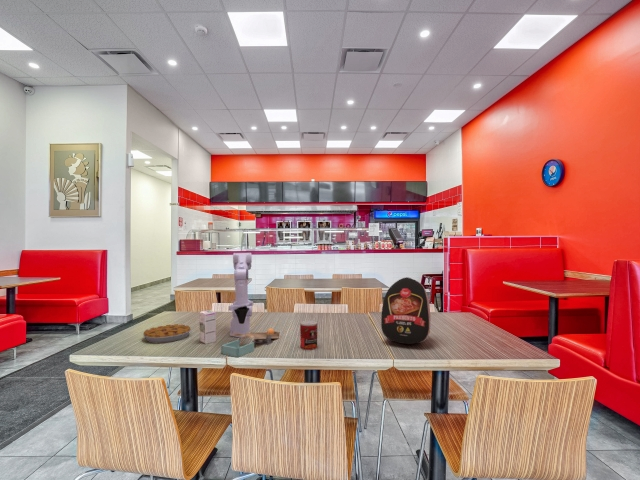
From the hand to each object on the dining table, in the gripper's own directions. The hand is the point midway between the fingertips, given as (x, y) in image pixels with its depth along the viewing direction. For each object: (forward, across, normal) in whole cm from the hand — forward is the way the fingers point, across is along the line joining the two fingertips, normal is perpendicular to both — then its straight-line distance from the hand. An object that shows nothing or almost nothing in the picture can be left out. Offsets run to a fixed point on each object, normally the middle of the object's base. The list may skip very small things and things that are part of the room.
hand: (241, 323), depth 151 cm
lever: (+7, +6, -3) cm, 10 cm away
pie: (+10, -10, +41) cm, 43 cm away
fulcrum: (+10, +6, -8) cm, 14 cm away
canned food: (+10, +11, -31) cm, 34 cm away
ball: (+6, +12, -8) cm, 15 cm away
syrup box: (+10, -6, +17) cm, 20 cm away
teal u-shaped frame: (+10, -9, -7) cm, 15 cm away
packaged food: (+10, +38, -67) cm, 78 cm away
